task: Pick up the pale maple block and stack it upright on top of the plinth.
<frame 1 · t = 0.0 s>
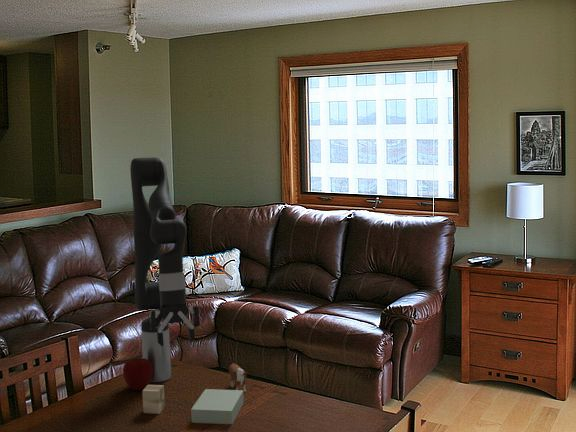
hand: (176, 343, 214), 22 cm above the table, tool pointing down, fingers open, 8 cm apart
maple block: (154, 410, 223), on the table
apple: (138, 389, 241), on the table
plinth: (218, 412, 220), on the table
bull figurine: (238, 390, 238), on the table
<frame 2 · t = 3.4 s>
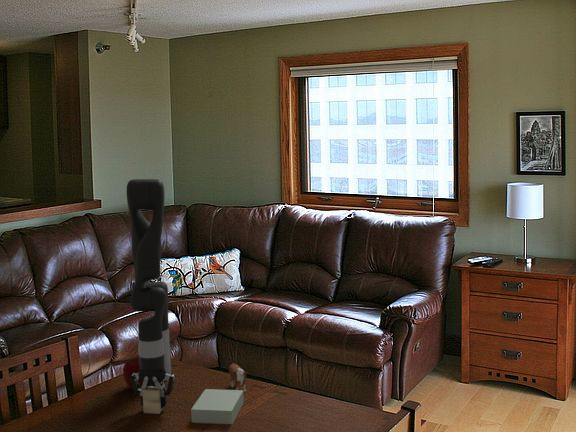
hand: (154, 407, 223), 1 cm above the table, tool pointing down, fingers closed on maple block, 5 cm apart
maple block: (154, 410, 223), on the table, touching gripper
everything else where it was.
when the fingers open (6 cm above the table, at t = 10.7 s): maple block drops 1 cm, resting on plinth.
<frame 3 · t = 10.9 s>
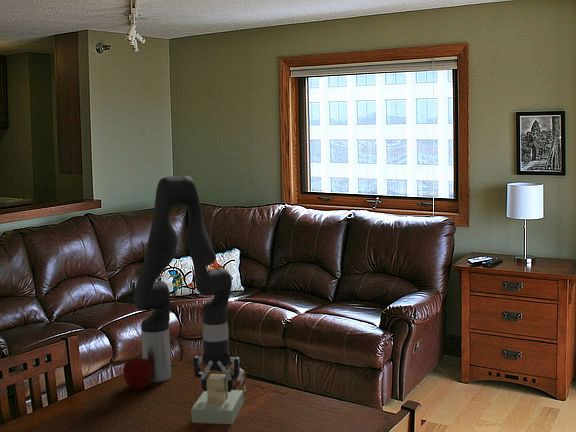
hand: (217, 390, 219), 7 cm above the table, tool pointing down, fingers open, 6 cm apart
maple block: (217, 399, 219), point 4 cm above the table, touching plinth
everything else where it was.
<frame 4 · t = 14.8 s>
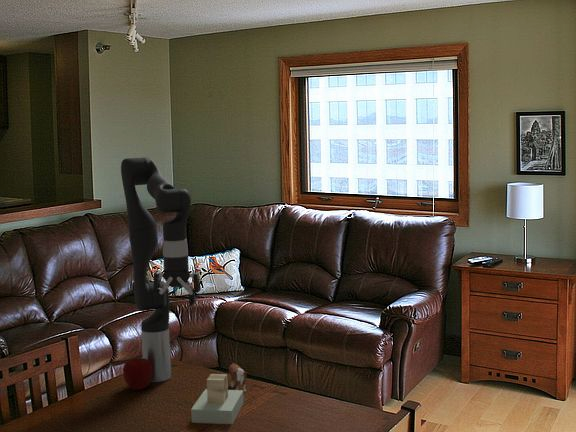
hand: (177, 305, 227), 30 cm above the table, tool pointing down, fingers open, 8 cm apart
nothing on the table moved.
at the end: maple block inside the target area on the plinth (0.0 cm from its centre), point 4.0 cm above the plinth's base; maple block tilted 0°; the gripper is holding nothing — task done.
